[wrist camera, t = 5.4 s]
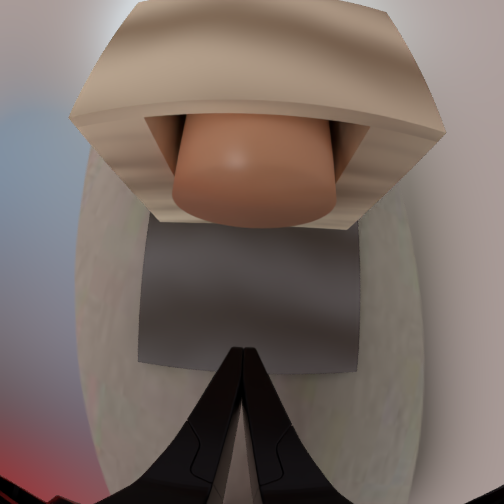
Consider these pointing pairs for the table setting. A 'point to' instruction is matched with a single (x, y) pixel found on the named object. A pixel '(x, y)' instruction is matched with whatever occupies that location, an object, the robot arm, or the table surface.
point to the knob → (255, 169)
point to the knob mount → (256, 102)
